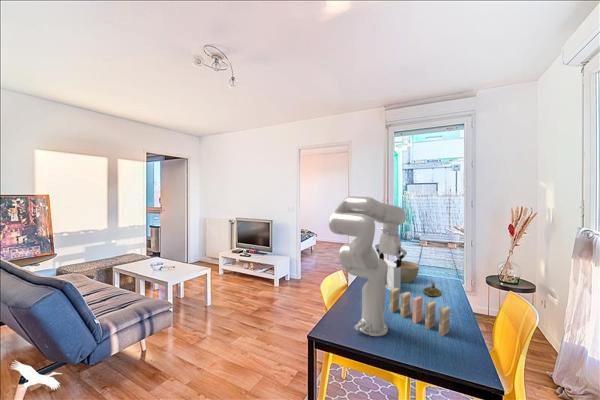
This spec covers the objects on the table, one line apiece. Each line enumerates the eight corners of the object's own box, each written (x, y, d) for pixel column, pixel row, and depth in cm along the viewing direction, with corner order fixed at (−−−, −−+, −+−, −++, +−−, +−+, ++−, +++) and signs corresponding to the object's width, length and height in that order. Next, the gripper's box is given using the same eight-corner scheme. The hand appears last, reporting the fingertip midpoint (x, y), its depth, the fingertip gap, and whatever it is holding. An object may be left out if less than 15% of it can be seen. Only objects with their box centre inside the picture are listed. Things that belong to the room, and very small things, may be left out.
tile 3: (434, 325, 116) (435, 302, 115) (428, 329, 113) (429, 305, 112) (430, 324, 117) (431, 300, 117) (424, 327, 114) (425, 303, 114)
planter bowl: (405, 286, 160) (406, 269, 159) (387, 277, 174) (387, 262, 174) (424, 282, 166) (425, 266, 166) (404, 274, 181) (405, 259, 180)
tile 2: (421, 320, 121) (422, 297, 120) (415, 323, 118) (416, 300, 117) (418, 318, 122) (418, 295, 121) (412, 321, 119) (413, 298, 118)
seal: (440, 301, 143) (441, 291, 155) (441, 293, 142) (442, 284, 155) (421, 296, 147) (424, 286, 160) (423, 288, 147) (425, 279, 160)
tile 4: (448, 332, 111) (449, 307, 110) (443, 336, 108) (444, 310, 107) (444, 330, 112) (445, 305, 112) (438, 334, 109) (439, 308, 109)
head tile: (398, 309, 130) (399, 288, 130) (392, 312, 127) (393, 291, 127) (395, 308, 132) (396, 287, 131) (389, 311, 129) (390, 289, 128)
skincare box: (372, 280, 171) (373, 256, 170) (379, 279, 172) (380, 255, 171) (393, 293, 151) (393, 266, 150) (400, 291, 152) (401, 265, 151)
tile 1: (409, 314, 125) (410, 292, 125) (403, 317, 123) (404, 295, 122) (406, 313, 127) (407, 291, 126) (400, 316, 124) (401, 294, 123)
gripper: (371, 229, 134) (371, 261, 136) (402, 235, 121) (401, 270, 122) (380, 228, 139) (379, 259, 140) (410, 233, 125) (409, 267, 127)
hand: (389, 264), depth 131 cm, fingers open, 9 cm apart
